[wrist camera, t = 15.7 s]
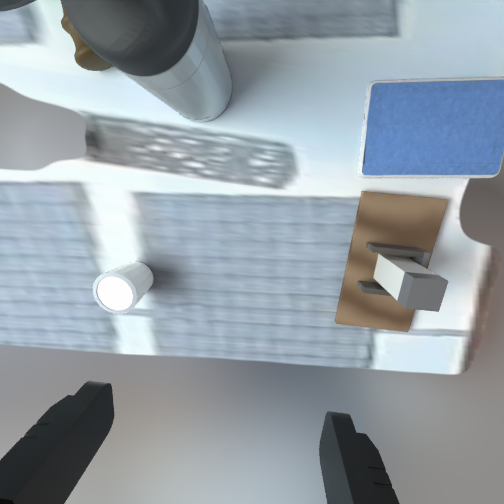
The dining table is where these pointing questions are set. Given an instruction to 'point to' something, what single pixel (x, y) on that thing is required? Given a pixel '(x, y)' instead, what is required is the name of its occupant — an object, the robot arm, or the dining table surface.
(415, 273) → the plug
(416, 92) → the tablet computer
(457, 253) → the dining table surface
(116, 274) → the white cup
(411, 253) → the holder
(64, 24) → the kendama
